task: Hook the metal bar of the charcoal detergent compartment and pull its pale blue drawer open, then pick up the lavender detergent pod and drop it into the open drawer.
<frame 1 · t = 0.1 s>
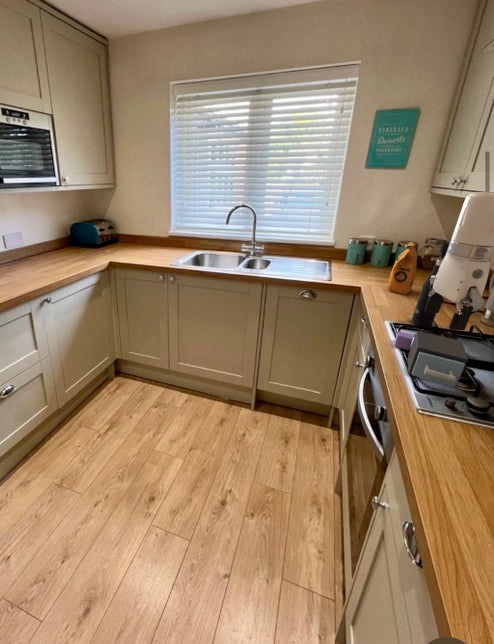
hand: (443, 320, 80), 18 cm above the countertop, tool pointing down, fingers open, 9 cm apart
drawer: (436, 365, 87), point 4 cm above the countertop, slide at 0.5 cm
detergent pod: (401, 345, 106), on the countertop
compartment: (430, 370, 93), on the countertop
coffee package: (397, 290, 157), on the countertop
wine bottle: (421, 324, 122), on the countertop
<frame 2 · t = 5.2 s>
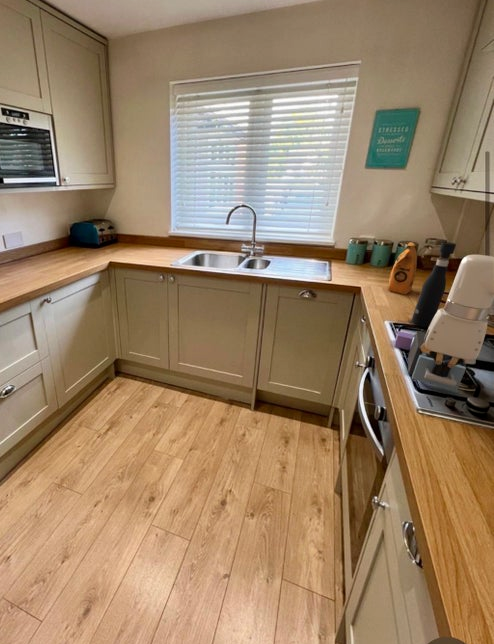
hand: (438, 377, 82), 4 cm above the countertop, tool pointing down, fingers closed
drawer: (436, 369, 86), point 4 cm above the countertop, slide at 2.6 cm
everything else where it was.
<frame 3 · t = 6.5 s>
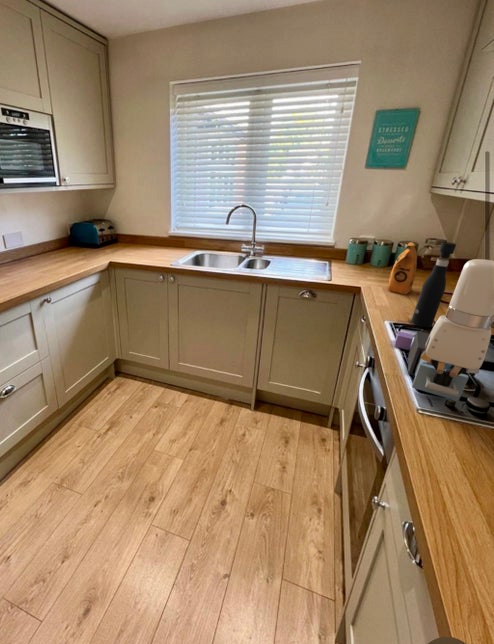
hand: (439, 386, 78), 4 cm above the countertop, tool pointing down, fingers closed
drawer: (438, 377, 82), point 4 cm above the countertop, slide at 7.1 cm, touching gripper
everything else where it was.
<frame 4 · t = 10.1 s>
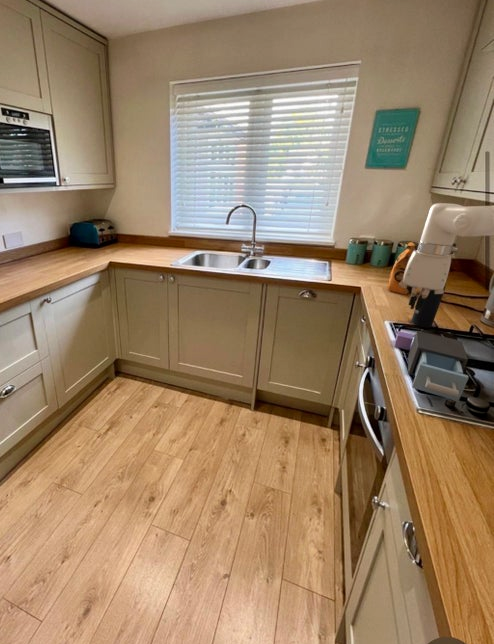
hand: (414, 308, 100), 13 cm above the countertop, tool pointing down, fingers closed
drawer: (438, 377, 82), point 4 cm above the countertop, slide at 7.1 cm
everything else where it was.
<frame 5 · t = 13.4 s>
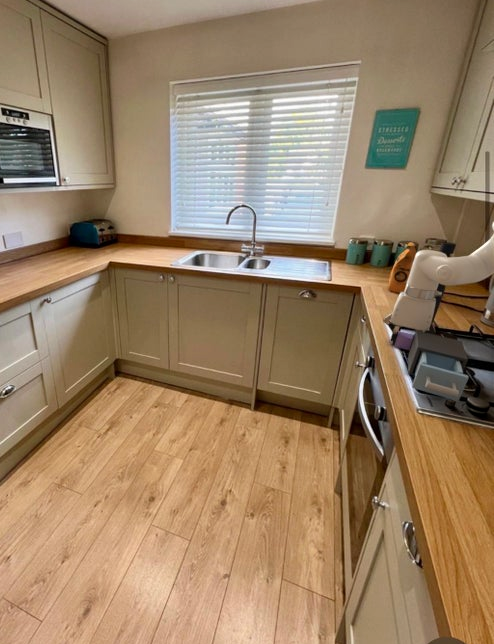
hand: (401, 345, 105), 0 cm above the countertop, tool pointing down, fingers closed on detergent pod, 4 cm apart
detergent pod: (401, 345, 106), on the countertop, touching gripper
everything else where it was.
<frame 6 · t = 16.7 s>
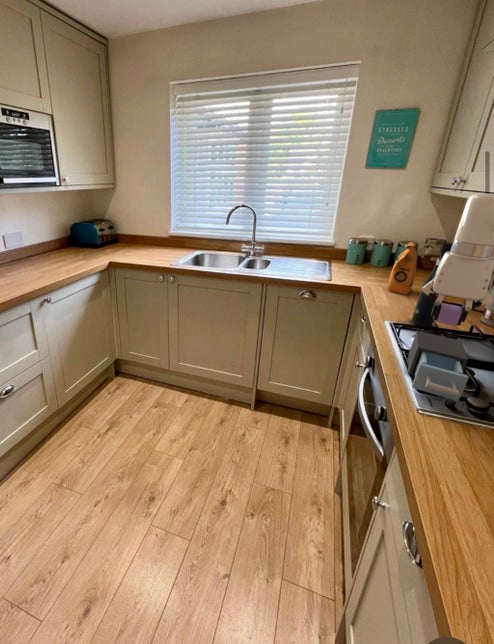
hand: (446, 320, 83), 17 cm above the countertop, tool pointing down, fingers closed on detergent pod, 4 cm apart
detergent pod: (445, 321, 83), point 17 cm above the countertop, touching gripper
everything else where it was.
when the fingers open (8 cm above the countertop, at t = 19.9 s): detergent pod drops 6 cm, resting on drawer.
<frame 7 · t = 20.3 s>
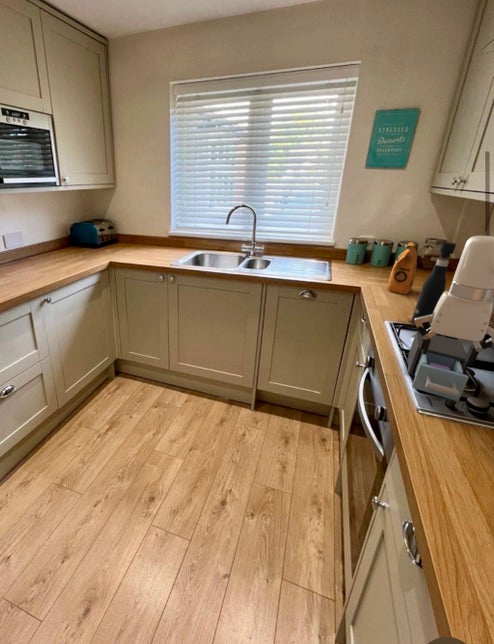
hand: (445, 357, 82), 9 cm above the countertop, tool pointing down, fingers open, 8 cm apart
drawer: (438, 377, 82), point 4 cm above the countertop, slide at 7.1 cm, touching detergent pod
detergent pod: (434, 381, 85), point 2 cm above the countertop, touching drawer
everything else where it was.
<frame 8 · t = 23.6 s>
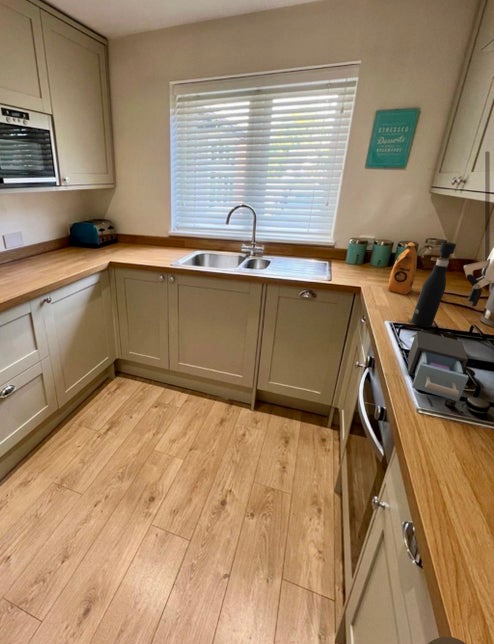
nothing on the countertop moved.
at the end: drawer slide at 7.1 cm; detergent pod 0.2 cm from the target spot in the drawer, point 2.0 cm above the compartment's base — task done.
